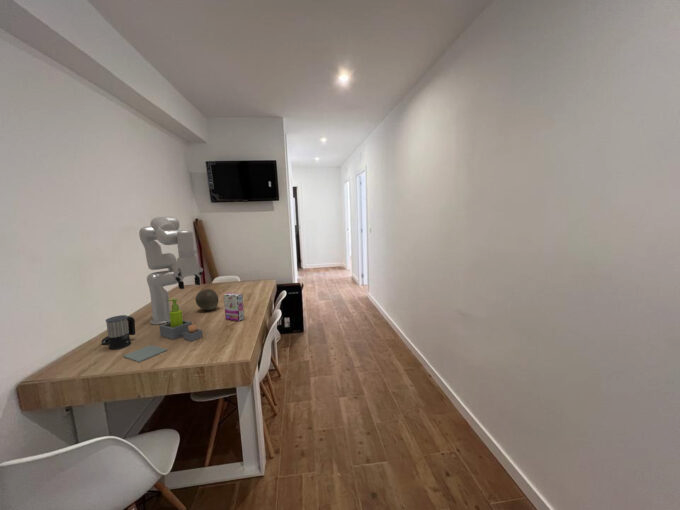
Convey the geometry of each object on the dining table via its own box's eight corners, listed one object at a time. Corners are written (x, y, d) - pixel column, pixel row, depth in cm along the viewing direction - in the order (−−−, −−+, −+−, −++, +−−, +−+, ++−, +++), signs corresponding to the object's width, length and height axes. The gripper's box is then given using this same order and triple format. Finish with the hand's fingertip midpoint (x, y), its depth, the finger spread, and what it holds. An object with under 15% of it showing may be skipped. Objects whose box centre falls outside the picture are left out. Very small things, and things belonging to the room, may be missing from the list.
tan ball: (187, 331, 157) (186, 326, 157) (193, 329, 161) (193, 323, 160) (191, 333, 155) (191, 327, 155) (198, 330, 159) (198, 325, 159)
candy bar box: (244, 319, 187) (242, 293, 185) (239, 321, 182) (237, 295, 180) (230, 317, 191) (229, 292, 189) (225, 319, 187) (223, 294, 185)
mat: (123, 356, 139) (123, 355, 139) (151, 345, 150) (151, 344, 150) (139, 362, 133) (139, 361, 133) (167, 350, 144) (167, 349, 144)
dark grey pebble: (212, 306, 216) (210, 286, 214) (223, 309, 208) (221, 288, 206) (193, 311, 205) (191, 290, 203) (204, 315, 197) (202, 293, 195)
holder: (160, 336, 162) (159, 325, 162) (179, 329, 172) (178, 319, 172) (187, 343, 152) (186, 332, 151) (206, 335, 162) (205, 324, 161)
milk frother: (125, 348, 147) (121, 320, 146) (89, 352, 145) (85, 323, 143) (139, 337, 161) (136, 311, 159) (107, 340, 159) (103, 313, 157)
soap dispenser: (172, 332, 168) (169, 298, 165) (185, 331, 168) (182, 297, 165) (167, 336, 162) (164, 301, 159) (180, 335, 162) (177, 300, 160)
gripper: (196, 252, 162) (199, 282, 165) (166, 256, 147) (169, 289, 149) (205, 252, 159) (208, 283, 161) (175, 256, 144) (179, 291, 146)
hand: (189, 286), depth 155 cm, fingers open, 9 cm apart
